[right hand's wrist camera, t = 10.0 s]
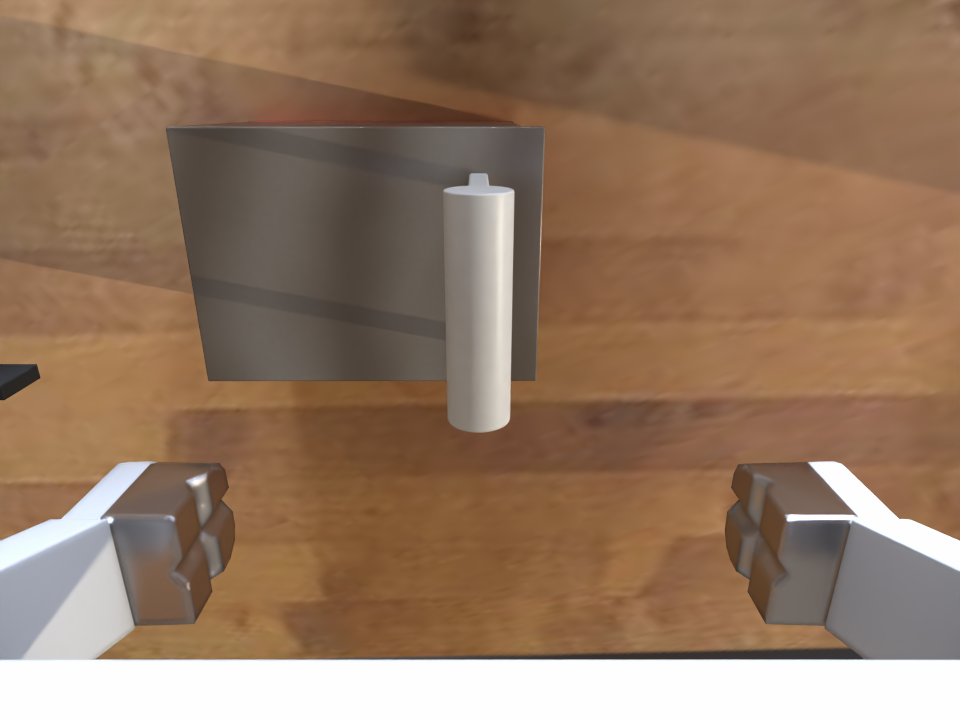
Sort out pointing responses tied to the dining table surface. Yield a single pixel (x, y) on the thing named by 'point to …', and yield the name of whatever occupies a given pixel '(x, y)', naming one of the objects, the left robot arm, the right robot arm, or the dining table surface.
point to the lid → (367, 255)
